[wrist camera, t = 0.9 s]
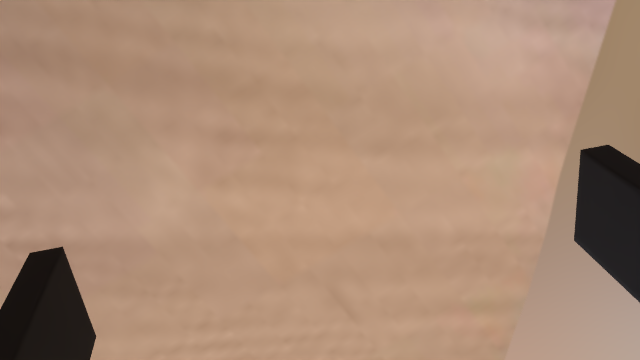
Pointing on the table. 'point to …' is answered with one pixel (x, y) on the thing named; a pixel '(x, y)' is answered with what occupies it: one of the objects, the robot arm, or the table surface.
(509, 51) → the table surface
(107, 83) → the table surface
